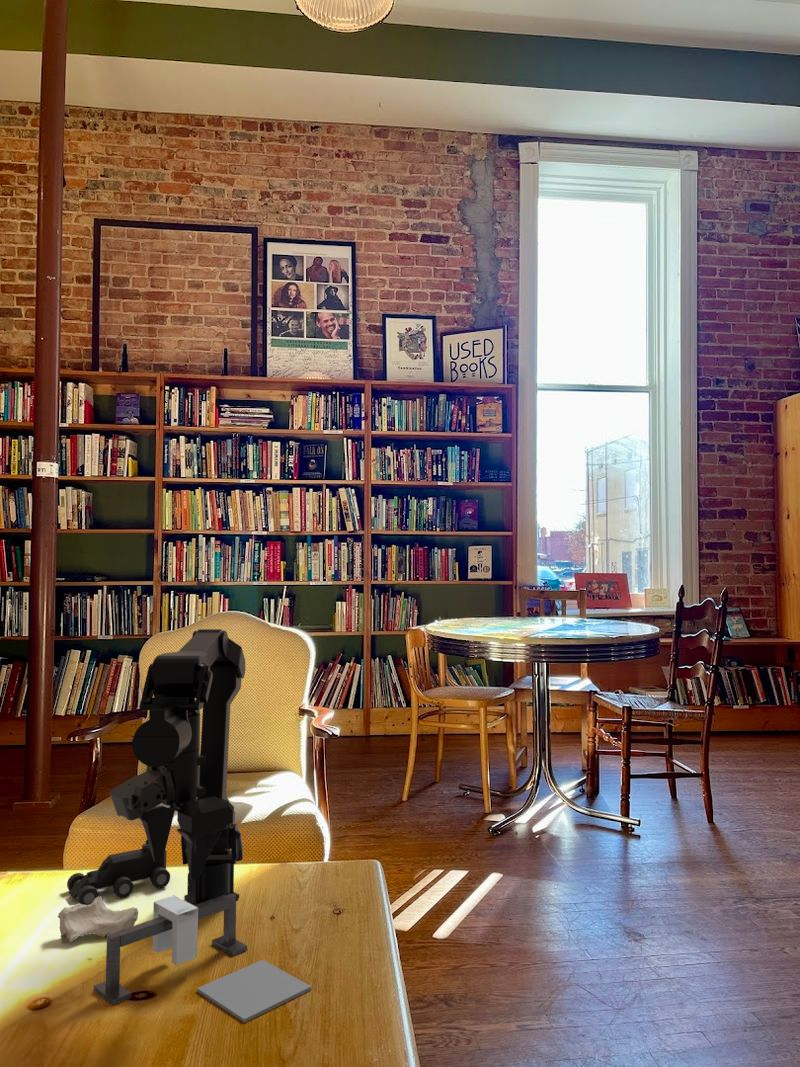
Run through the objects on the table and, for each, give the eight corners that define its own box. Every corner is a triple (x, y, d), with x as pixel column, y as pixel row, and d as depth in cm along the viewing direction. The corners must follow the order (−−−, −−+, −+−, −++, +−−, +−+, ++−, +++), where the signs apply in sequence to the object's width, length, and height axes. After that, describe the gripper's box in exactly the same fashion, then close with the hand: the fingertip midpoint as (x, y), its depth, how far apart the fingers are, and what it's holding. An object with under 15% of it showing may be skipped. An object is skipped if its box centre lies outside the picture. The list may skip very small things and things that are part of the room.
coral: (140, 933, 111) (141, 901, 112) (62, 951, 106) (63, 918, 106) (131, 919, 116) (131, 889, 116) (56, 936, 111) (57, 904, 111)
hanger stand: (226, 938, 109) (227, 888, 110) (247, 950, 106) (247, 897, 106) (93, 990, 95) (95, 932, 96) (112, 1005, 92) (114, 945, 92)
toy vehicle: (172, 888, 128) (173, 834, 129) (76, 911, 120) (78, 852, 120) (156, 874, 135) (157, 822, 136) (64, 894, 126) (66, 838, 127)
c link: (173, 942, 104) (174, 895, 104) (197, 957, 100) (198, 907, 100) (152, 950, 102) (153, 901, 102) (176, 965, 98) (177, 914, 98)
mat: (262, 962, 102) (262, 959, 102) (311, 989, 95) (311, 986, 95) (196, 991, 95) (196, 988, 95) (244, 1022, 88) (244, 1019, 88)
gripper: (87, 748, 103) (84, 868, 102) (157, 771, 90) (154, 908, 89) (163, 736, 111) (160, 847, 110) (237, 756, 98) (235, 881, 97)
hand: (175, 869), depth 101 cm, fingers open, 9 cm apart
